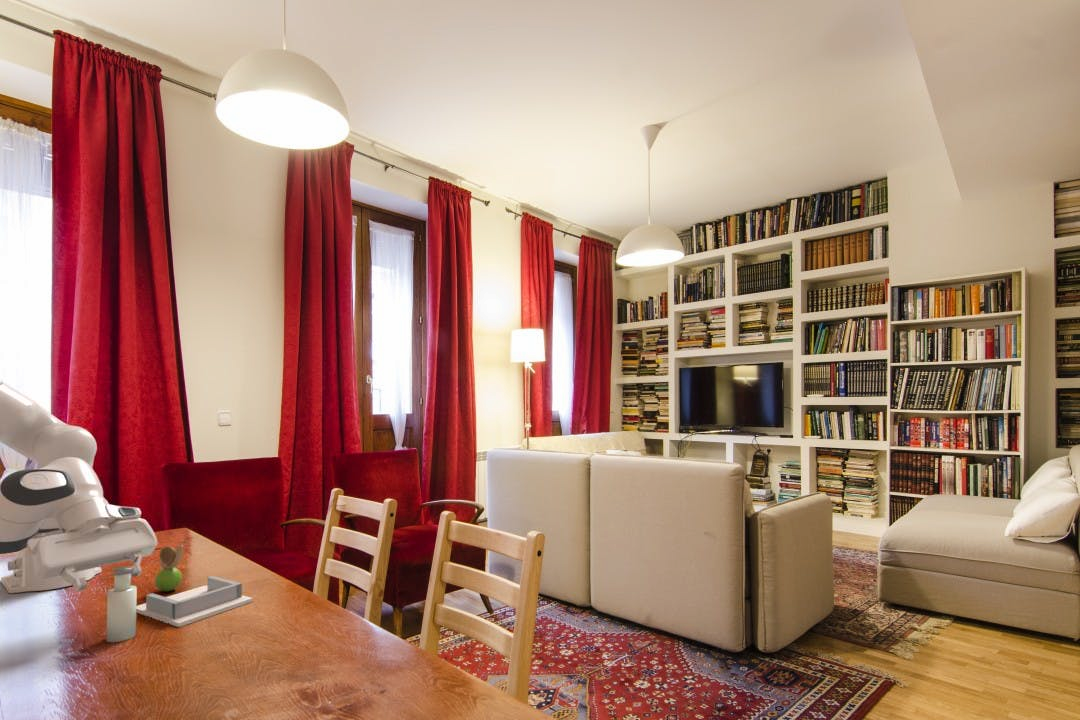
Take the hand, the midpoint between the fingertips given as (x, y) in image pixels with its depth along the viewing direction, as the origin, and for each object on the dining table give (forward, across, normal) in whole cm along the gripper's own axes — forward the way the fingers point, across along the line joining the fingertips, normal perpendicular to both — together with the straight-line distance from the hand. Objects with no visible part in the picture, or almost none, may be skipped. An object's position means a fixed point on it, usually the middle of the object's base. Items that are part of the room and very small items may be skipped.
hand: (110, 581), depth 115 cm
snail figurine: (-4, +20, +19) cm, 27 cm away
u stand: (+6, +17, +8) cm, 20 cm away
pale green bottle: (+10, +1, +5) cm, 11 cm away
